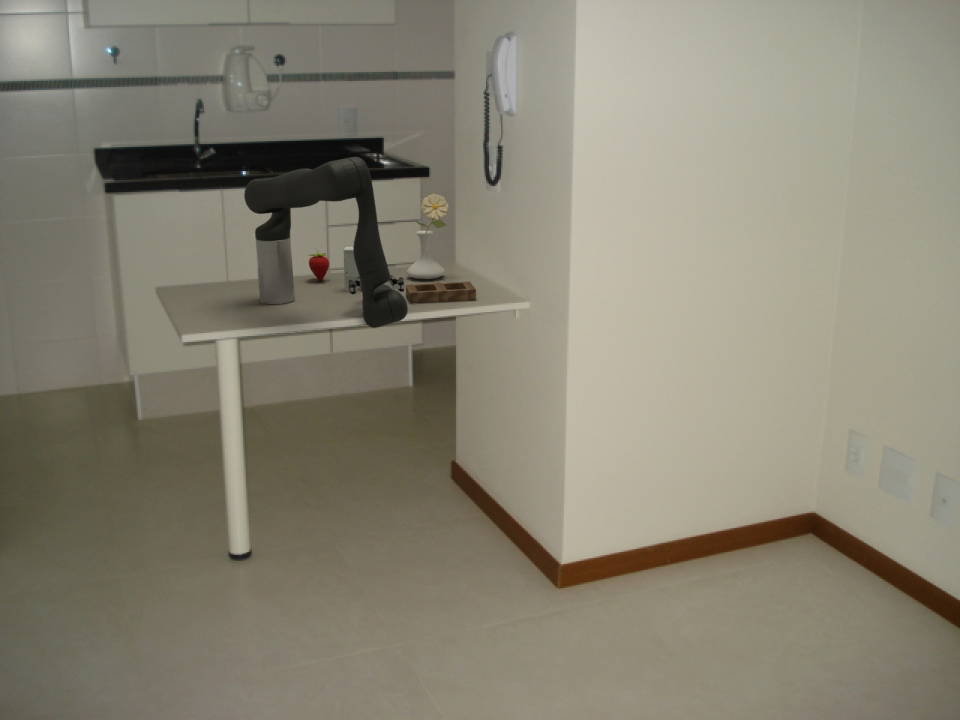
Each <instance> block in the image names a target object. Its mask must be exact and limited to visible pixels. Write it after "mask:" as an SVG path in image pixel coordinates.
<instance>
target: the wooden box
mask: <svg viewBox="0 0 960 720" xmlns="http://www.w3.org/2000/svg"><path fill="white" fill-rule="evenodd" d="M405 296H406V299H407V298H408V299H407V301H408V302H410V303H418V304H431V303H435V304H436V303H447V302H448V303H449V302H468V301H469V302H470V301H471V302H472V301H477V289H476V288H475V287H474V285H473V284H472V282H471V281H453V282H451V281H450V282H435V283H415V284H405ZM410 303H409V304H410Z"/></svg>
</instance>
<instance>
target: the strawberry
mask: <svg viewBox="0 0 960 720" xmlns="http://www.w3.org/2000/svg"><path fill="white" fill-rule="evenodd" d="M314 249H316V247H314ZM316 251H317V253H312V254H308V256H310V259H308V266H309V268H310V271H311V272H312V274H313V275H314V276H315V277H316V279H317V280H318V281H319V282H322V281H323V280H324V278H325V277H326V275H327V273H328V271H329V268H330V261H329V259H328V257H326V256H327V255H326V254H327V253H320V252H319V250H318V249H316Z"/></svg>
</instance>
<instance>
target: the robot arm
mask: <svg viewBox="0 0 960 720" xmlns="http://www.w3.org/2000/svg"><path fill="white" fill-rule="evenodd" d="M373 186H374V185H373V181H372V176H371V173H370V169H369V167H368V165H367V163H366V161H365V160H364V159H362V158H361V157H359V156H352V157H351V156H350V157H346V158H342V159H337V160H336V159H335V160H331V161H328V162H325V163H323V164H321V165H319V166H317V167H315V168H313V169H311V168H298V169H295V170H292V171H287V172H285V173H282V174H279V175H277V176H274V177H264V178H254V179H252V180H250V181H249V182H248V183H247V185H246V186H245V189H244V192H243V193H244V195H243V196H244V202H245V204H246V206H247V207H248V209H249V210H250V211H251V212H253V213H254V214H256V215H257V214H258V215H265V214H266V215H267V214H271V215H270V218H269V219H268V220H267V221H265V222H264V223H263V224H261V225H259V226H257V227H256V228H255V229H254V232H255V233H254V236H255V238H254V239H255V249H256V262H257V278H258V279H257V281H258V291H259V293H258V294H259V303H260V304H267V305H268V304H269V305H279V304H281V305H282V304H287V303H291V302H293V301H295V298H296V297H295V295H296V294H295V285H294V270H293V255H292V242H291V228H292V217H291V216H292V209H298V208H299V209H301V208H302V209H303V208H306V207H307V208H308V207H311V206H313V205H317V204H318V203H319V202H342V201H346V200H351V199H355V200H356V204H357V209H358V219H357V220H358V221H357V226H356V232H355V235H354V241H353V246H352V247H353V253H354V259H355V263H356V266H357V270H358V273H359V275H360V276H359V277H357V278H355V281H353V280H348V282H349V291H348V292H349V294H351V295H356V294H357V293H358V292H360V293H361V294H362V319H363V321H364V322H365V324H366V325H367V326H368V327H370V328H372V329H375V328H380V327H384V326H387V325H390V324H394V323H398V322H401V321H402V320H404V319H405V318H406V317H407V316H408V311H409V310H408V303H407V301H406V299H405V297H404V296H403V295H402V294H401V293H403V292H405V280H404V277H403V276H402V277H398V278H397V277H395V276H393V275H392V274H391V273H390V269H389V266H388V262H387V260H386V256H385V253H384V249H383V245H382V241H381V235H380V230H379V223H378V213H377V206H376V200H375V193H374V187H373Z"/></svg>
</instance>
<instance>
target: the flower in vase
mask: <svg viewBox="0 0 960 720" xmlns="http://www.w3.org/2000/svg"><path fill="white" fill-rule="evenodd" d="M445 199H446V198H445V197H444V196H443V195H440V194H435V193H432V194H429V195H427V197H424V198H423V200H422V204H421V211H422V213H423V214H424V216H425V217H426V218H429V219H430V220H431V219H432V220H431V222H430V224H429V225H428V226H427V225H426V224H425V223H422V222H419V221H418V220H415V221H416V223H417V224H418V225H419V226H422V227H425V228H426V230H418V231H416V232H415V234H416V235H417V236H418V237H419V242H420V249H421V253H420V257H419V258H418V259H417V260H416V261H415V262H414V263H413V264H411V266H410V267H409V268H407V271H406V274H407V276H409V278H410V277H411V278H413V279H416V280H417V279H418V280H432V279H437V278H440V277H442V276H443V275H445V273H446V271H445V269H444V268H443V266H441V264H439V263H438V262H437V261H436V260H434V259H433V258H432V257H431V254H430V240H431V237H432V235H433V233H434V231H432V230H429V228H430V227H431V226H434V227H435V228H437V229H441V228H443V227H447V224H446V222H445V221H444V220H442V219H441V218H444V217H446V216H447V213H448V210H449V203H447V200H445ZM432 224H433V225H432Z"/></svg>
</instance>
